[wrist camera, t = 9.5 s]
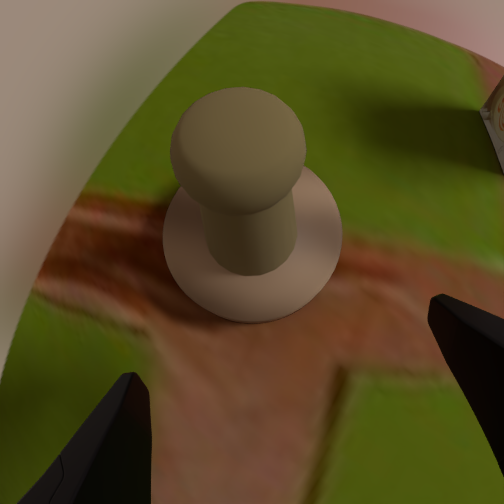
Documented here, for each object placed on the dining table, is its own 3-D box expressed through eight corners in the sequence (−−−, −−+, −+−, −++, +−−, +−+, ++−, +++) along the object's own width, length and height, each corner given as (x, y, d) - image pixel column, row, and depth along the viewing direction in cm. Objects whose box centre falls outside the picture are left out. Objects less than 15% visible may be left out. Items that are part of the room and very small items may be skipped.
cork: (190, 215, 21) (128, 108, 11) (267, 174, 22) (264, 49, 11) (232, 293, 20) (189, 235, 9) (315, 246, 20) (358, 148, 10)
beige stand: (317, 339, 21) (324, 338, 18) (156, 301, 23) (141, 295, 20) (342, 187, 24) (350, 168, 22) (199, 161, 26) (192, 141, 23)
